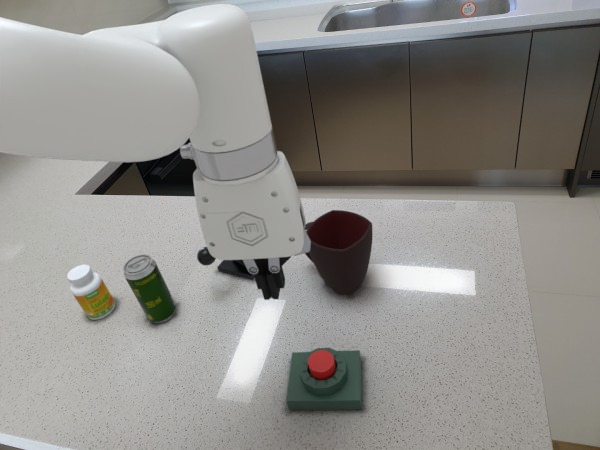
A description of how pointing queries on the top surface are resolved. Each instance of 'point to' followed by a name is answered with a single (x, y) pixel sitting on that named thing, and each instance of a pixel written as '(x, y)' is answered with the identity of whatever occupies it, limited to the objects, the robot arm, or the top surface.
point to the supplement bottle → (90, 292)
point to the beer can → (149, 288)
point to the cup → (341, 249)
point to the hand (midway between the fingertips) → (273, 290)
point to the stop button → (321, 364)
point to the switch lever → (205, 256)
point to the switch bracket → (235, 269)
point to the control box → (325, 383)
